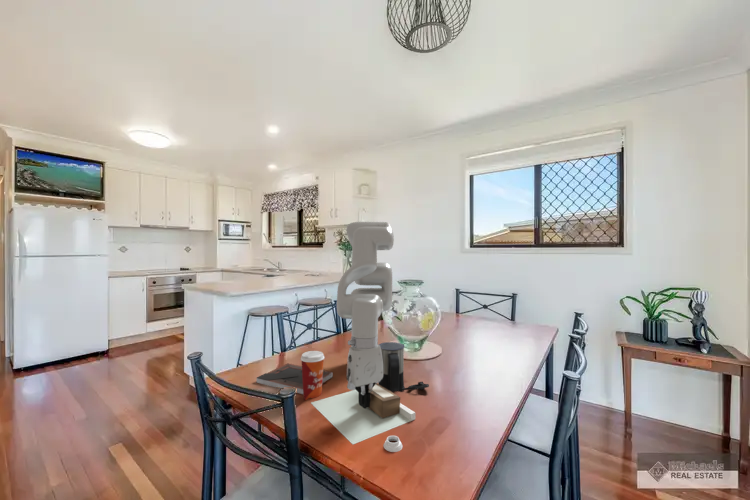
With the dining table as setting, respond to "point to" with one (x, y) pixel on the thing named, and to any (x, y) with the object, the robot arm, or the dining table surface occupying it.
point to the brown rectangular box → (384, 401)
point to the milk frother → (395, 368)
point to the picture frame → (288, 377)
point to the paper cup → (312, 373)
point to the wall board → (359, 416)
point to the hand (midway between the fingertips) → (364, 405)
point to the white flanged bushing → (393, 444)
